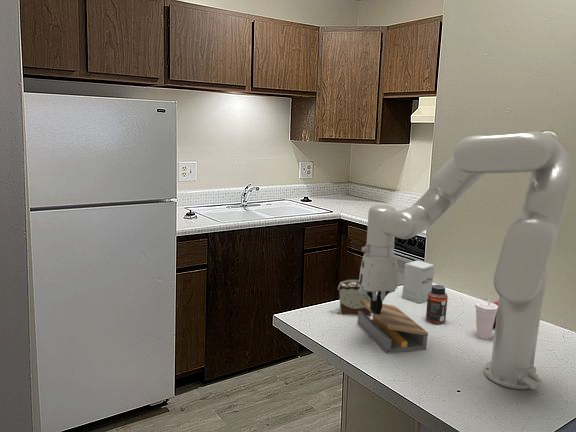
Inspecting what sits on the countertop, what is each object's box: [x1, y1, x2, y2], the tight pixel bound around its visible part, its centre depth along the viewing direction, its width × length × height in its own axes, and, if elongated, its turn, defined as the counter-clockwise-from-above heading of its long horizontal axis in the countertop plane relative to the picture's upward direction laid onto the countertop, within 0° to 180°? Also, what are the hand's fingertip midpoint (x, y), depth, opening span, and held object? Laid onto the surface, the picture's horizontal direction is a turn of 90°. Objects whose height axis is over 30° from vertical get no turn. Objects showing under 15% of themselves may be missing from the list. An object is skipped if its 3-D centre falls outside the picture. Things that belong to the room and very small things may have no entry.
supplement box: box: [401, 259, 435, 304], centre depth 178 cm, size 7×7×13 cm
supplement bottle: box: [425, 284, 449, 325], centre depth 160 cm, size 6×6×11 cm
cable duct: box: [357, 311, 428, 354], centre depth 149 cm, size 20×12×4 cm, turn 15°
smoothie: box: [474, 290, 498, 340], centre depth 149 cm, size 6×6×14 cm
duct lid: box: [360, 300, 429, 337], centre depth 148 cm, size 20×12×1 cm, turn 15°
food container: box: [337, 279, 377, 317], centre depth 165 cm, size 12×6×10 cm, turn 84°
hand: (375, 312), depth 146 cm, fingers closed
